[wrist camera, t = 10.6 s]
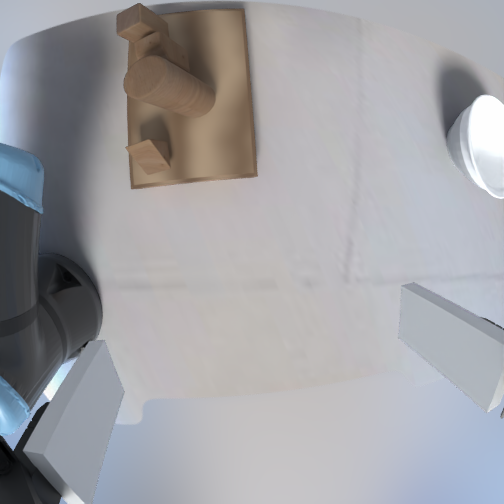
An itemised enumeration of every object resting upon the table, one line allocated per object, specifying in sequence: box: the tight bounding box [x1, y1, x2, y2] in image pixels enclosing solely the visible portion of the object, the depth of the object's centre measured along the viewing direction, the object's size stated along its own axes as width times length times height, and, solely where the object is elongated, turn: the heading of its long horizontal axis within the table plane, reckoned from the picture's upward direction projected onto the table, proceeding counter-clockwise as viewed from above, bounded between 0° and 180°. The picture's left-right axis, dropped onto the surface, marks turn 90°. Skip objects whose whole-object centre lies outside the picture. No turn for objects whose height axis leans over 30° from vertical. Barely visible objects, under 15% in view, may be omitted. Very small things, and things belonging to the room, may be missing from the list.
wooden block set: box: [117, 3, 216, 175], centre depth 25 cm, size 18×9×10 cm, turn 9°
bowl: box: [447, 94, 504, 199], centre depth 35 cm, size 16×16×8 cm
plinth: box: [127, 9, 258, 189], centre depth 31 cm, size 14×22×4 cm, turn 4°
